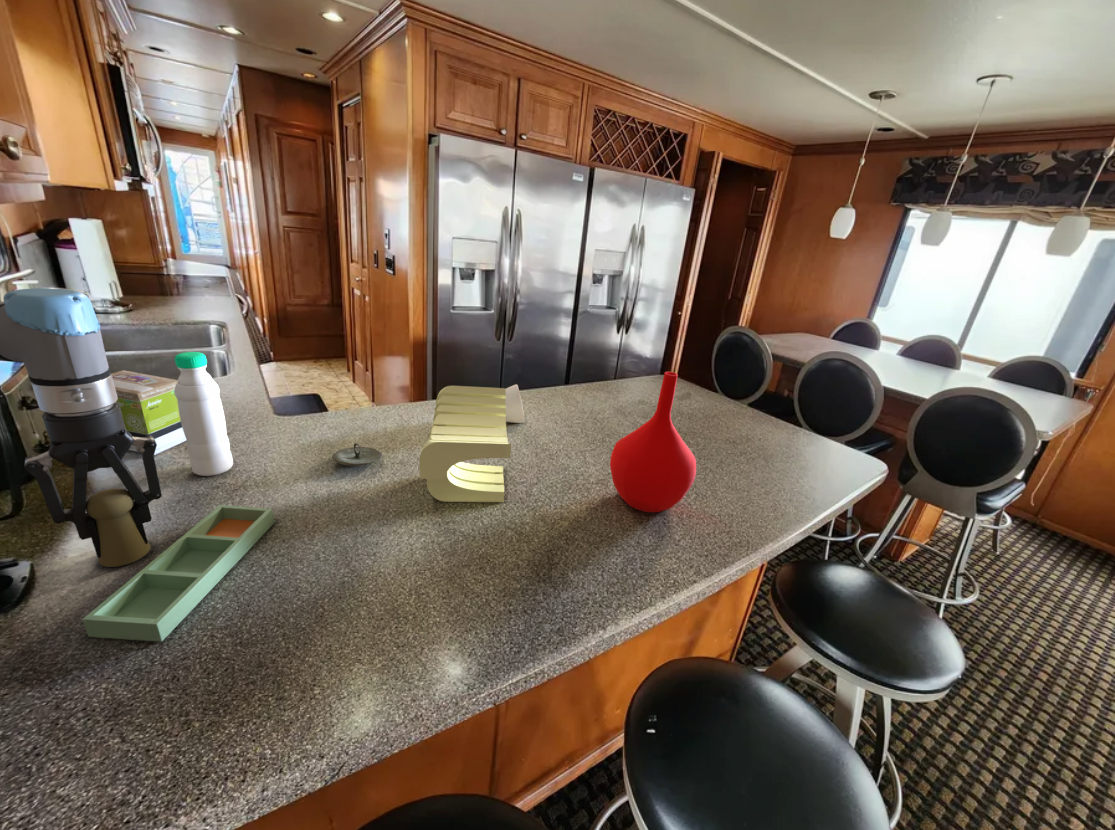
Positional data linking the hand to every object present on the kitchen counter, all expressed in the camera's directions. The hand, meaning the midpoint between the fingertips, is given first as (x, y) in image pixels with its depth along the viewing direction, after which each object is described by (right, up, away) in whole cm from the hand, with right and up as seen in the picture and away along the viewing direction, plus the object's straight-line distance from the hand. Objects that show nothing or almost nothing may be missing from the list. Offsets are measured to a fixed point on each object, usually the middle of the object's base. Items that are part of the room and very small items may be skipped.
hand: (122, 545), depth 71 cm
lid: (+22, +9, +34) cm, 42 cm away
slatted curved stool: (+48, +5, +30) cm, 56 cm away
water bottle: (-5, +9, +25) cm, 27 cm away
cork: (0, -2, +1) cm, 2 cm away
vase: (+87, +1, +32) cm, 93 cm away
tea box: (-26, +14, +33) cm, 44 cm away
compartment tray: (+12, -4, -1) cm, 13 cm away
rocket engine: (+48, +19, +65) cm, 83 cm away
